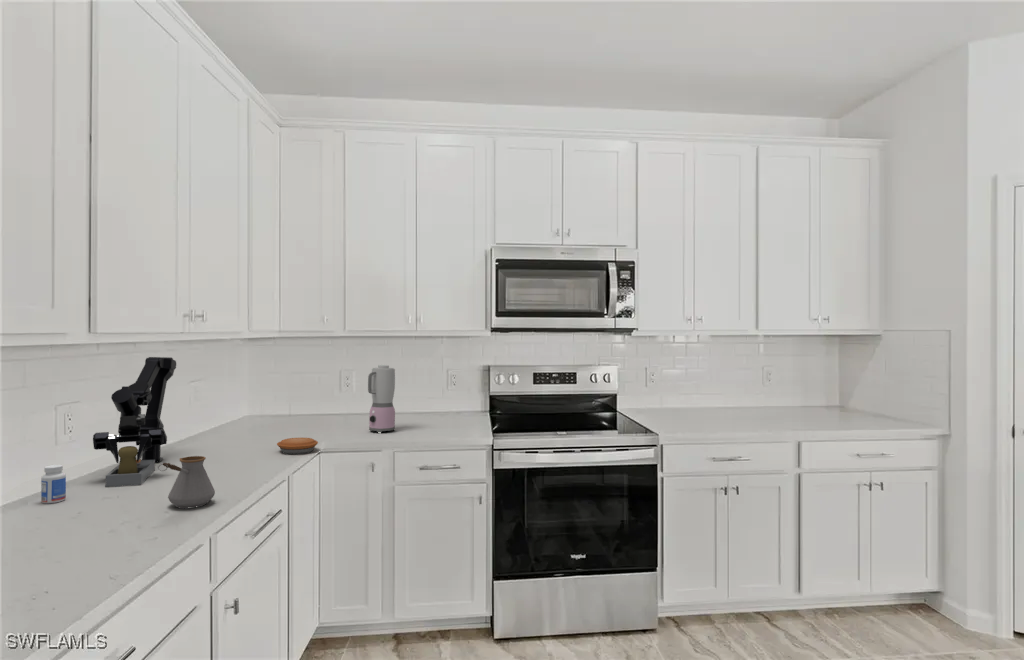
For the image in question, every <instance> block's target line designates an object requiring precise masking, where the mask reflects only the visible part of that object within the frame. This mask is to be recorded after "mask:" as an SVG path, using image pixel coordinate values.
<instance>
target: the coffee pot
mask: <svg viewBox="0 0 1024 660" xmlns="http://www.w3.org/2000/svg"><path fill="white" fill-rule="evenodd" d="M206 459H207V458H206V457H205V456H202V455H200V456H199V455H194V456H185V457H180V458H179V459H178V460H179V462H180V463H181V467H180V466H178V465H175V464H173V463H172V464H171V463H170V462H163V463H161V464H159V466H157V469H158V470H159V471H161V472H164V471H165V472H166V471H167V470H168V468H169V469H170V470H174V471H178V472H179V473H178V474H177V477H176V479H175V481H174V483H173V485H172V488H171V489H170V491H169V493H168V497H167V499H168V501H169V502H170V503H171V504H172V505H174V506H175V507H176V508H177V507H180V508H179V509H184V508H185V509H189V508H188V507H196V506H201V507H203V506H202V505H204V504H206V503H207V504H208V503H209V502H210V501H211V500H212V499H213V498H214V496H215V494H216V492H215V491H216V490H215V488H214V486H213V484H212V482H211V479H210V477H209V476H208V473H207V471H206V469H205V467H204V461H205V460H206ZM160 466H164V467H166V468H165V469H163V470H162V469H160ZM207 504H206V505H207ZM204 506H205V505H204ZM196 508H197V507H196Z"/></svg>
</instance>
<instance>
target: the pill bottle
mask: <svg viewBox="0 0 1024 660" xmlns="http://www.w3.org/2000/svg"><path fill="white" fill-rule="evenodd" d="M63 466H64V465H63V464H51V465H46V466H44V470H43V471H44V474H43V475H42V476H41V481H40V484H41V487H40V489H41V492H40V493H41V494H40V495H41V496H40V498H41V499H40V502H41V503H42V504H56V503H59V502H60V503H61V502H63V501H65V500H66V499H67V498H66V497H67V492H66V490H67V476H66V473H65V472H63V470H64V468H63Z"/></svg>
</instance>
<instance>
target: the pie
mask: <svg viewBox="0 0 1024 660" xmlns="http://www.w3.org/2000/svg"><path fill="white" fill-rule="evenodd" d="M276 445H277V446H278V448H279V449H280V451H281V452H282V453H283V454H284V455H303V454H308V453H311V452H313V451H314V449H315V448H316V446H317V445H319V442H318V441H317V440H316V439H314V438H311V437H291V438H285V439H282V440H281V441H278V442H277V443H276Z"/></svg>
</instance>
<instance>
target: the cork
mask: <svg viewBox="0 0 1024 660" xmlns="http://www.w3.org/2000/svg"><path fill="white" fill-rule="evenodd" d="M138 449H139V448H138V447H137V446H136V445H135V446H134V445H128V446H123V447H120V448H119V449H118V457H119V462H118V465H119V468H118V474H131V473H138V470H137V462H136V460H137V454H138Z"/></svg>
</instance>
